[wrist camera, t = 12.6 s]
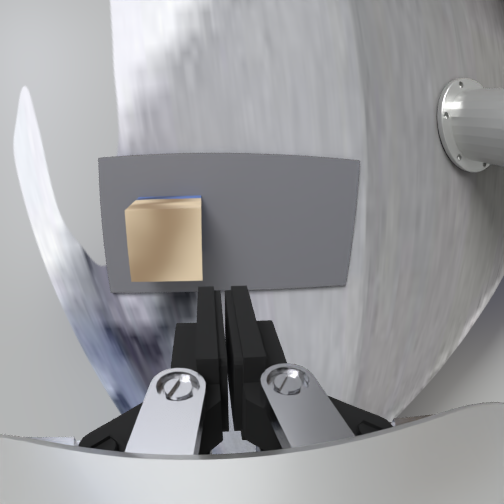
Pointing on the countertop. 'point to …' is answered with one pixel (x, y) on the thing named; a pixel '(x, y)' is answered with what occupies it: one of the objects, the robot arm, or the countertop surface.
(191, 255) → the cube
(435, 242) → the countertop surface
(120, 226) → the mat
